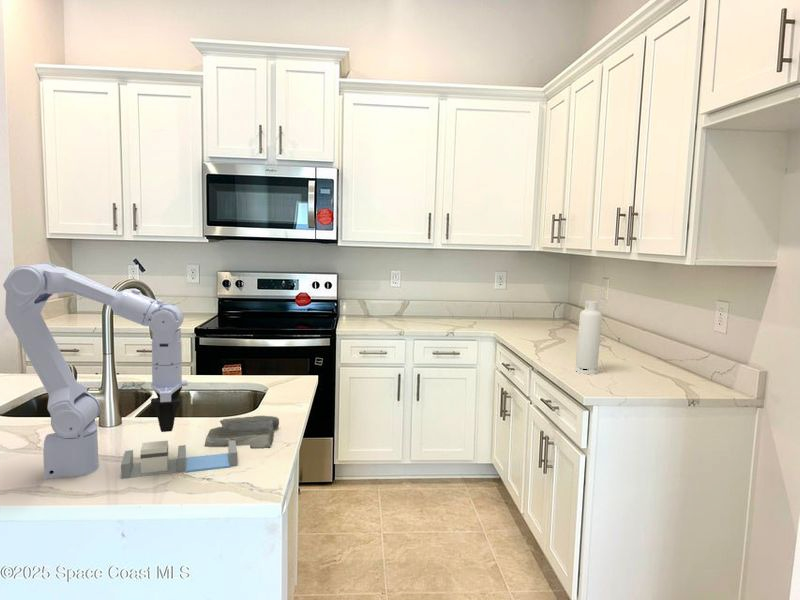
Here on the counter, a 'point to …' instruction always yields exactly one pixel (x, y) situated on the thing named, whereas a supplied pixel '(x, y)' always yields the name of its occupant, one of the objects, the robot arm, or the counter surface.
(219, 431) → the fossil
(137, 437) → the counter surface
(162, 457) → the block
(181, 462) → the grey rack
